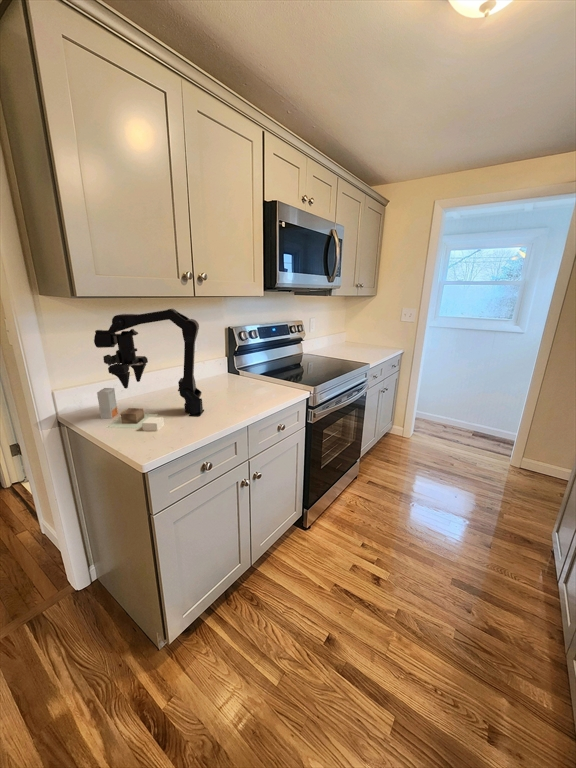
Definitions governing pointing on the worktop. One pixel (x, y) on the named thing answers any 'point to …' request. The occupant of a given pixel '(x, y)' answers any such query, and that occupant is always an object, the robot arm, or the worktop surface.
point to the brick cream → (153, 424)
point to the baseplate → (119, 423)
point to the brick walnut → (132, 415)
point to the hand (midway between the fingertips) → (132, 384)
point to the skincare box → (107, 403)
